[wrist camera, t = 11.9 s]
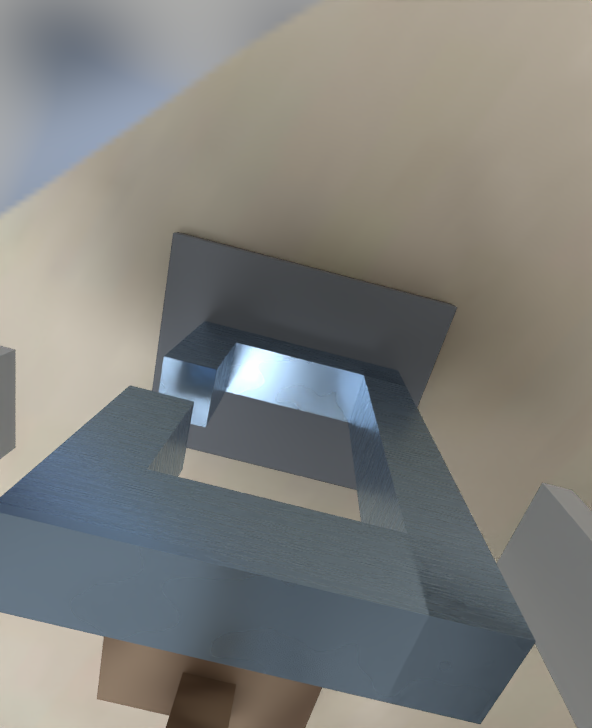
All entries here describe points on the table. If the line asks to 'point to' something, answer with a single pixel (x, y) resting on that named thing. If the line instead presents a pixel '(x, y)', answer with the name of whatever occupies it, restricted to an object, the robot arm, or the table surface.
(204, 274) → the mat
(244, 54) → the table surface
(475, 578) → the link
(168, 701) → the stand
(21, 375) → the table surface
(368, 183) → the table surface
